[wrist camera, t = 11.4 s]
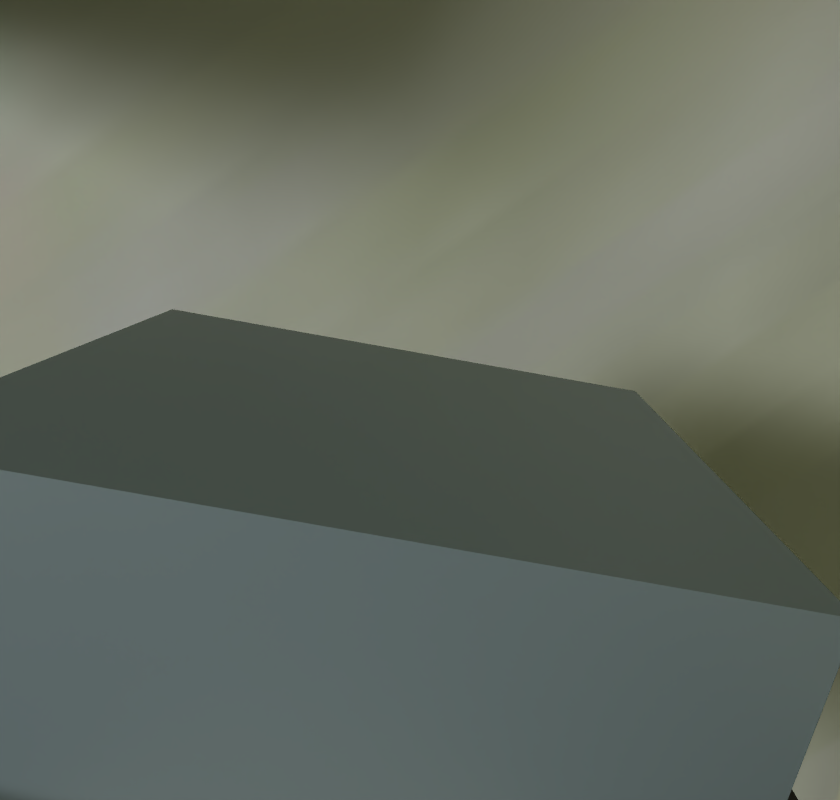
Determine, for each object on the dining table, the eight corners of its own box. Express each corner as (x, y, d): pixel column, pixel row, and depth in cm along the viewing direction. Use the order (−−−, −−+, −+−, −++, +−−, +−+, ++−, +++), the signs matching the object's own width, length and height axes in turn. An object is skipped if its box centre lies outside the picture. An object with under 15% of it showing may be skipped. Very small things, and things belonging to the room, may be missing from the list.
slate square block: (172, 309, 15) (-161, 440, 7) (635, 391, 16) (857, 619, 7) (141, 701, 18) (-123, 1135, 10) (534, 769, 18) (609, 1257, 10)
